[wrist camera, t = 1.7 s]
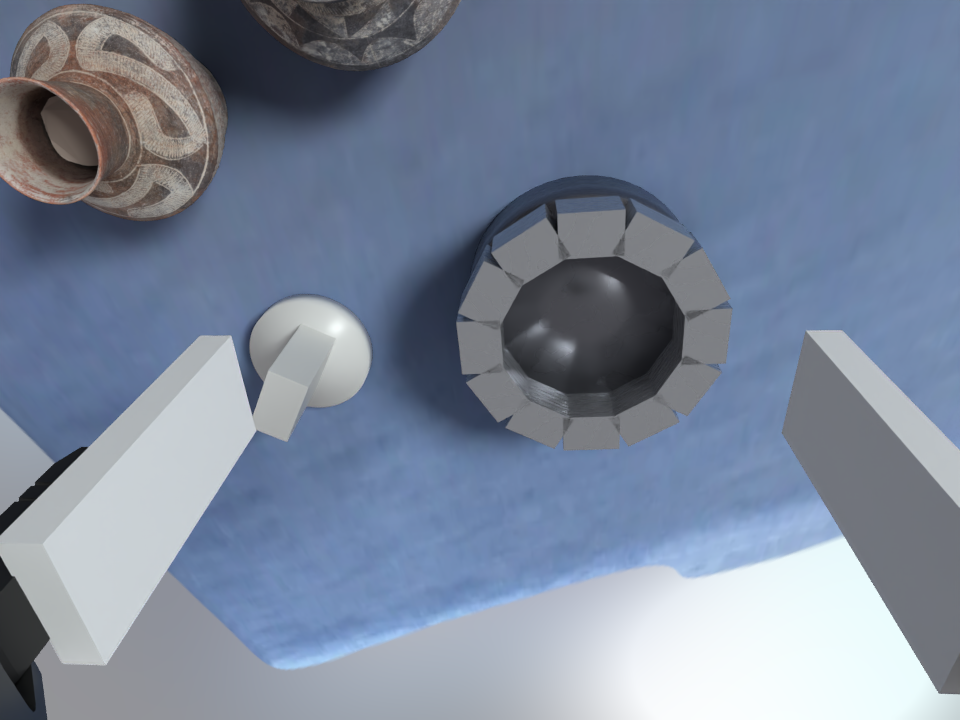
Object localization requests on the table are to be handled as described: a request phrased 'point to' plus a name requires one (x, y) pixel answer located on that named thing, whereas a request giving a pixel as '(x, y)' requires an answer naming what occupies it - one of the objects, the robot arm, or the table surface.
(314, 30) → the pottery
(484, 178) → the table surface
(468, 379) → the toothed ring drum
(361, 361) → the cap
